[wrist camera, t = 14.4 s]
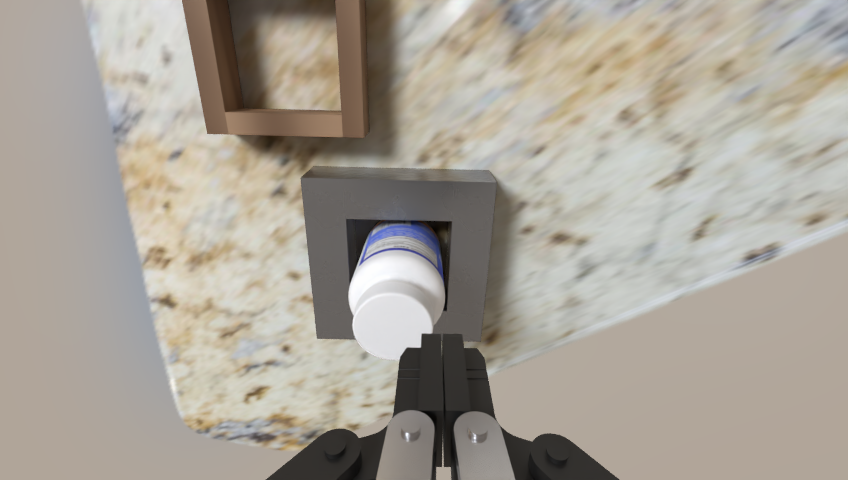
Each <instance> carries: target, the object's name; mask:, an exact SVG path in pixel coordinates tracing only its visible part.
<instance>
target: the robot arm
mask: <svg viewBox="0 0 848 480" xmlns="http://www.w3.org/2000/svg"><path fill="white" fill-rule="evenodd" d="M442 441H443V450H444V467H451V478H452V480H619V479H618V478H617V477H615V476H614V475H613V474H611V473H610V472H609V471H608V470H606V469H605V468H604V467H603V466H601V465H600V464H599V463H598V462H596V461H595V460H594V459H593V458H591V457H590V456H589V455H588V454H586V453H585V452H584V451H583V450H581V449H580V448H579V447H578V446H576V445H575V444H574V443H573V442H571V441H570V440H568V439H567V438H565V437H563V436H560V435H556V434H543V435H540V436H538V437H536V438H535V439H534V441H533V442H531V441H528V440H524V439H521V438H518V437H516V436H513V435H511V434H509V433H508V432H506V431H505V430H504V429H503V428H502V427H501V426H500V425H499V423H498V422H497V420H496V418H495V414H494V409H493V403H492V398H491V393H490V386H489V381H488V375H487V372H486V364H485V359H484V357H483V356H482V354H481V353H480V352H479V350H478V349H477V348H464V344H463V336H462V334H443V335H442V350H441V334H426V333H422V334H421V348H412V347H407V348H406V349H405V351H404V352H403V354H402V355H401V356H400V362H399V370H398V379H397V388H396V396H395V405H394V413H393V417H392V419H391V420H390V422H389V424H388V425H387V426H386V427H385V428H384V429H383V430H381V431H380V432H378V433H376V434H373V435H369V436H366V437H362V438H358V437H357V435H356V434H355V433H353V432H352V431H350V430H346V429H334V430H330V431H327V432H326V433H324V434H322V435H321V436H319V437H318V438H317V439H316V440H314V441H313V442H312V443H311V444H309V445H308V446H307V447H306V448H304V449H303V450H302V451H301V452H300V453H298V454H297V455H296V456H295V457H293V458H292V459H291V460H290V461H288V462H287V463H286V464H285V465H283V466H282V467H281V468H280V469H278V470H277V471H276V472H275V473H274V474H272V475H271V476H270V477H269V478H267V479H266V480H436V467H442Z"/></svg>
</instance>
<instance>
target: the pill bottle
mask: <svg viewBox="0 0 848 480" xmlns="http://www.w3.org/2000/svg"><path fill="white" fill-rule="evenodd" d="M348 299H349V305H350V309H351V311H352V314H353V315H354V317H353V324H352V327H353V333H354V336H355V338H356V340H357V342H358V343H359V345H360V346H361V347H362V348H363V349H364V350H365V351H367V352H368V353H370V354H371V355H373V356H376V357H378V358H381V359H386V360H400V356H401V355H402V354H403V352H404V351H405V349H406V348H407V347H412V348H421V334H422V333H426V334H432V333H433V326H434V325H435V324H436V322H437V321H438V319H439V318H440V316H441V314H442V312H443V308H444V304H445V289H444V279H443V270H442V259H441V248H440V243H439V239H438V237H437V235H436V233H435V232H434V230H433V229H432V228H431V227H430V226H429V225H428V224H427V223H426V222H424V221H417V220H381V221H380V222H378V223H377V224H376V225H375V226H374V227H373V228H372V230H371V231H370V233H369V234H368V236H367V239H366V241H365V244H364V247H363V250H362V253H361V256H360V259H359V261H358V264H357V267H356V270H355V272H354V275H353V278H352V280H351V283H350V287H349V294H348Z"/></svg>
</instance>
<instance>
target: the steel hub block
mask: <svg viewBox="0 0 848 480" xmlns="http://www.w3.org/2000/svg"><path fill="white" fill-rule="evenodd" d="M301 187H302V196H303V206H304V216H305V226H306V236H307V245H308V255H309V265H310V275H311V285H312V294H313V304H314V314H315V324H316V333H317V339H356V338H355V336H354V333H353V327H352V324H353V317H354V315H353V314H352V311H351V309H350V305H349V299H348V294H349V287H350V283H351V280H352V278H353V275H354V272H355V270H356V267H357V261H356V240H355V219H372V220H417V221H448V236H447V254H446V273H445V288H444V289H445V304H444V308H443V312H442V314H441V316H440V318H439V319H438V321H437V322H436V324H435V325H434V326H433V333H432V334H441V341H442V335H443V334H462V336H463V341H476V342H481V334H482V324H483V314H484V304H485V295H486V285H487V275H488V265H489V256H490V246H491V236H492V226H493V217H494V207H495V197H496V187H497V182H496V180H495V179H494V177H493V176H492V174H491V173H490V171H489V170H449V169H408V168H367V167H325V166H313V167H312V168H311V169H310V170H309V171H308V172H307V173H305V174H304V175H303V176H302V177H301Z"/></svg>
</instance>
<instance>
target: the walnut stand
mask: <svg viewBox="0 0 848 480" xmlns="http://www.w3.org/2000/svg"><path fill="white" fill-rule="evenodd" d="M182 3H183V8H184V13H185V18H186V24H187V29H188V34H189V39H190V45H191V50H192V55H193V60H194V66H195V71H196V76H197V81H198V87H199V92H200V97H201V102H202V108H203V113H204V118H205V123H206V129H207V134H235V135H275V136H314V137H353V138H364V137H365V136H366V135H367V134H368V132H369V105H368V71H367V37H366V3H365V0H335V5H336V23H337V41H338V59H339V77H340V95H341V111H325V110H287V109H249V108H244V107H243V100H242V94H241V87H240V80H239V74H238V67H237V60H236V54H235V47H234V41H233V34H232V27H231V21H230V14H229V7H228V1H227V0H182Z"/></svg>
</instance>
